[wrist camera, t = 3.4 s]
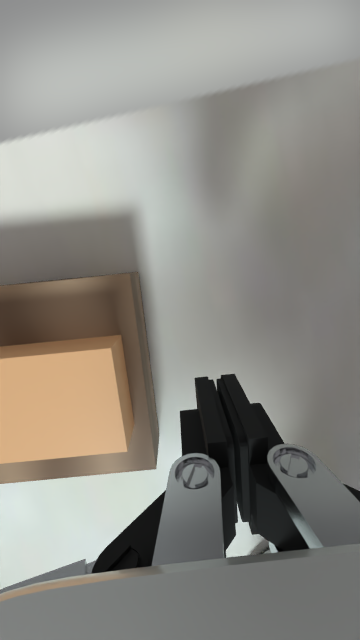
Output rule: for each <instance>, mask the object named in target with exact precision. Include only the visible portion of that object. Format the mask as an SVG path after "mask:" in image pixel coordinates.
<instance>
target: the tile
mask: <svg viewBox="0 0 360 640" xmlns="http://www.w3.org/2000/svg"><path fill="white" fill-rule="evenodd" d="M133 428H134V418H133V411H132V405H131V398H130V391H129V384H128V378H127V371H126V364H125V358H124V351H123V344H122V338H121V335H114V336H104V337H94V338H84V339H73V340H63V341H53V342H42V343H32V344H22V345H12V346H1V347H0V464H4V463H14V462H25V461H35V460H46V459H56V458H67V457H77V456H87V455H98V454H108V453H119V452H128V448H129V444H130V440H131V436H132V432H133Z"/></svg>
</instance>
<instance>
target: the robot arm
mask: <svg viewBox="0 0 360 640" xmlns="http://www.w3.org/2000/svg"><path fill="white" fill-rule="evenodd" d="M195 388H196V399H197V409H194V410H184V411H180V422H181V441H182V457H180V458H179V459H177V460H176V461H175V462H174V464H173V465H172V467H171V469H170V472H169V477H168V483H167V488H166V490H165V491H164V492H163V493H162V494H161V495H160V496H159V497H158V498H157V499H156V500H155V501H154V502H153V503H152V504H151V505H150V506H149V507H148V508H147V509H146V510H145V511H144V512H143V513H141V514H140V515H139V516H138V517H137V518H136V519H135V520H134V521H133V522H132V523H131V524H130V525H129V526H128V527H127V528H126V529H125V530H124V531H123V532H122V533H121V534H120V535H119V536H118V537H116V538H115V539H114V540H113V541H112V542H111V543H110V544H109V545H108V546H107V547H106V548H105V549H104V551H103V552H102V553H101V554H100V555H99V557H98V559H97V560H96V561H93V562H91V563H88V564H87V563H86V559H84V560H81V561H78V562H75V563H72V564H70V565H67V566H64V567H61V568H58V569H56V570H53V571H50V572H47V573H45V574H42V575H39V576H36V577H33V578H31V579H28V580H25V581H22V582H19V583H17V584H14V585H11V586H8V587H5V588H3V589H1V590H0V640H360V491H358V490H356V489H354V488H351V487H349V486H347V485H345V484H343V483H341V482H340V480H339V479H338V478H337V477H336V476H335V475H334V474H333V473H332V472H331V471H330V470H329V469H328V468H327V467H326V466H325V465H324V463H323V462H322V461H321V460H320V459H319V458H318V457H317V456H316V455H315V454H313V453H312V452H311V451H310V450H308V449H306V448H304V447H301V446H298V445H295V444H284V442H283V440H282V439H281V437H280V435H279V434H278V432H277V430H276V428H275V427H274V425H273V423H272V422H271V420H270V418H269V417H268V415H267V413H266V412H265V410H264V408H263V407H262V405H261V404H260V403H253V404H250V402H249V400H248V399H247V397H246V395H245V393H244V391H243V389H242V387H241V385H240V383H239V382H238V380H237V378H236V376H235V374H228V375H221V379H217V390H216V387H215V384H214V381H213V380H208V377H198V378H195ZM237 504H238V508H239V511H240V515H241V519H242V522H249V526H250V529H251V533H252V535H253V534H260V535H261V536H263V537H264V538H265V539H267V540H268V541H269V548H270V549H269V550H267V551H266V552H265V553H263V554H257V555H248V556H238V557H229V558H226V549H227V548H228V546H229V545H230V543H231V542H232V540H233V539H234V537H235V536H236V529H235V523H238V516H237Z"/></svg>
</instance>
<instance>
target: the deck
mask: <svg viewBox="0 0 360 640" xmlns="http://www.w3.org/2000/svg"><path fill="white" fill-rule="evenodd" d="M114 335H121V338H122V344H123V351H124V358H125V364H126V371H127V378H128V384H129V391H130V398H131V405H132V411H133V418H134V428H133V432H132V436H131V440H130V444H129V448H128V452H119V453H108V454H98V455H87V456H77V457H67V458H56V459H46V460H35V461H25V462H14V463H4V464H0V484H5V483H15V482H26V481H36V480H47V479H57V478H68V477H78V476H89V475H99V474H110V473H120V472H131V471H141V470H151V469H156V465H157V454H158V444H159V429H158V422H157V414H156V406H155V398H154V390H153V382H152V375H151V367H150V359H149V351H148V343H147V336H146V328H145V320H144V312H143V304H142V296H141V289H140V281H139V273H138V272H132V273H122V274H112V275H102V276H92V277H81V278H71V279H61V280H51V281H41V282H30V283H20V284H10V285H0V347H1V346H12V345H22V344H32V343H42V342H53V341H63V340H73V339H84V338H94V337H104V336H114Z"/></svg>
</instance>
